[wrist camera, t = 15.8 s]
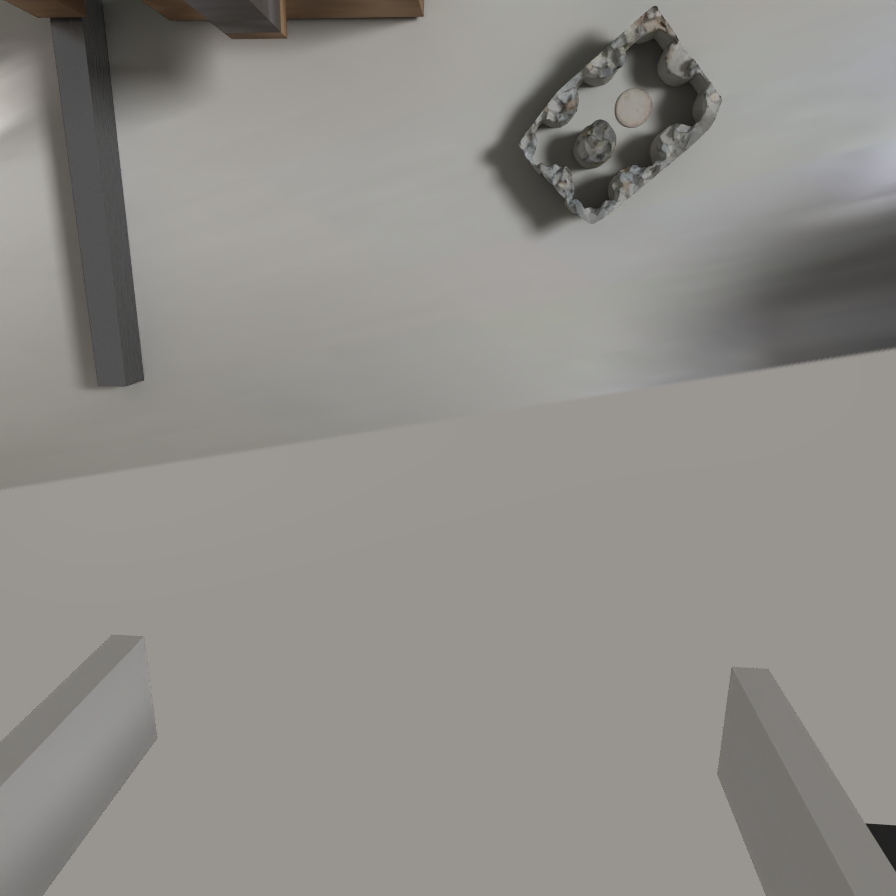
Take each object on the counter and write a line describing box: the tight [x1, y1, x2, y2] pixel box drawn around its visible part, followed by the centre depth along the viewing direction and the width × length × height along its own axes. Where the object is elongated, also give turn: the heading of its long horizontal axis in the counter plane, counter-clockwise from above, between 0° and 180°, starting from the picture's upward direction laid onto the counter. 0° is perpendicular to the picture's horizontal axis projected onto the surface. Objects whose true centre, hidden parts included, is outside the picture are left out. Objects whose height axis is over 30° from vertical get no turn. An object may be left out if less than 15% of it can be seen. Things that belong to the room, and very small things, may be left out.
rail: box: [50, 0, 144, 386], centre depth 45 cm, size 2×30×2 cm, turn 179°
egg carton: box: [518, 6, 722, 224], centre depth 41 cm, size 11×8×4 cm
